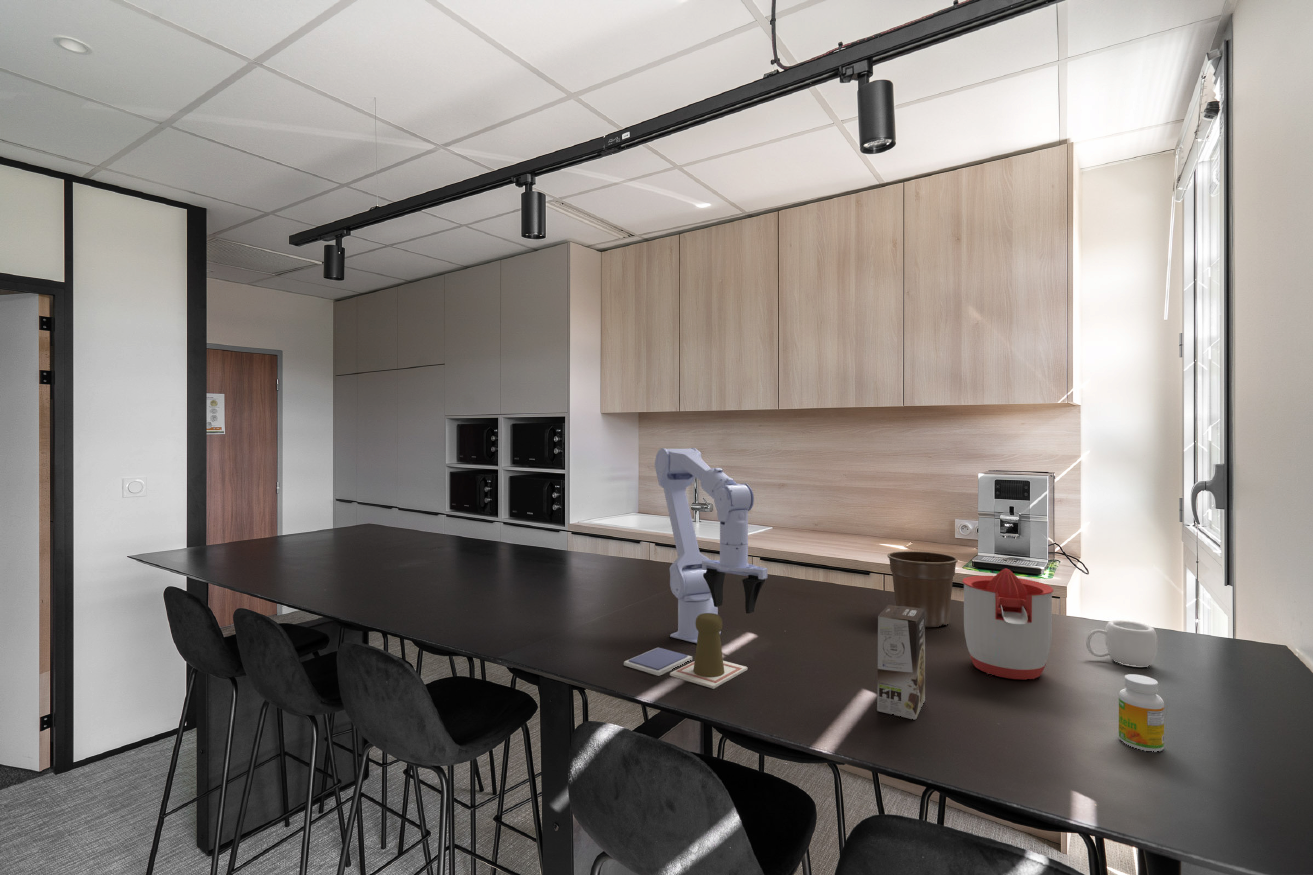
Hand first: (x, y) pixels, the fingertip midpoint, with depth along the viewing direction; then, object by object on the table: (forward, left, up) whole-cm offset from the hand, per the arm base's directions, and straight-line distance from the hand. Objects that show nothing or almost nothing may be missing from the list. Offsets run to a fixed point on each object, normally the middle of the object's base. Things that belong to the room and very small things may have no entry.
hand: (733, 609), depth 128 cm
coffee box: (+1, +34, -11) cm, 36 cm away
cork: (+10, 0, -10) cm, 14 cm away
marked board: (+9, 0, -10) cm, 14 cm away
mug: (-48, +62, -11) cm, 79 cm away
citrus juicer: (-28, +45, -11) cm, 54 cm away
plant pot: (-53, +22, -11) cm, 58 cm away
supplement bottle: (-8, +66, -11) cm, 67 cm away
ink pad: (+11, -11, -10) cm, 19 cm away
